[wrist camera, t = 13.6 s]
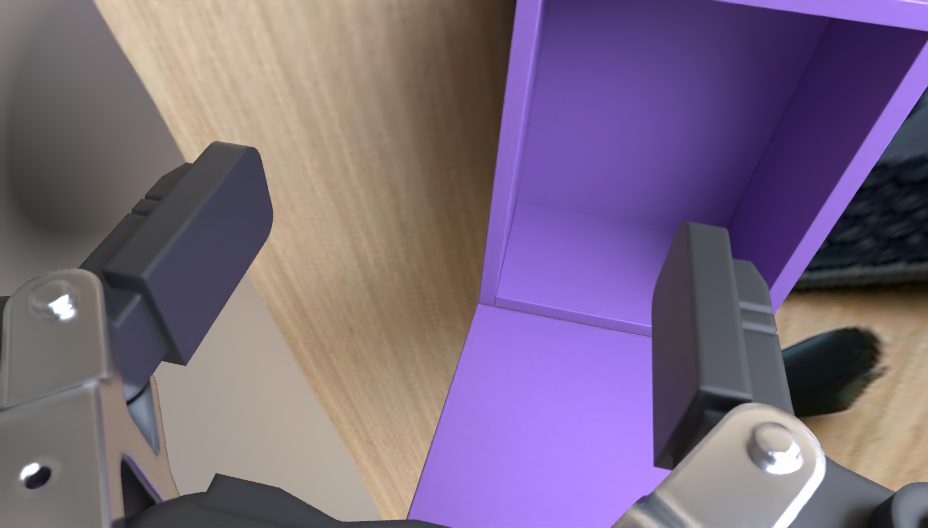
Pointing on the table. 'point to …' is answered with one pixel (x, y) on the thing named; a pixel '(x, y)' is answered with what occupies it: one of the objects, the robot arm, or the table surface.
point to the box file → (685, 140)
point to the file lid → (541, 427)
